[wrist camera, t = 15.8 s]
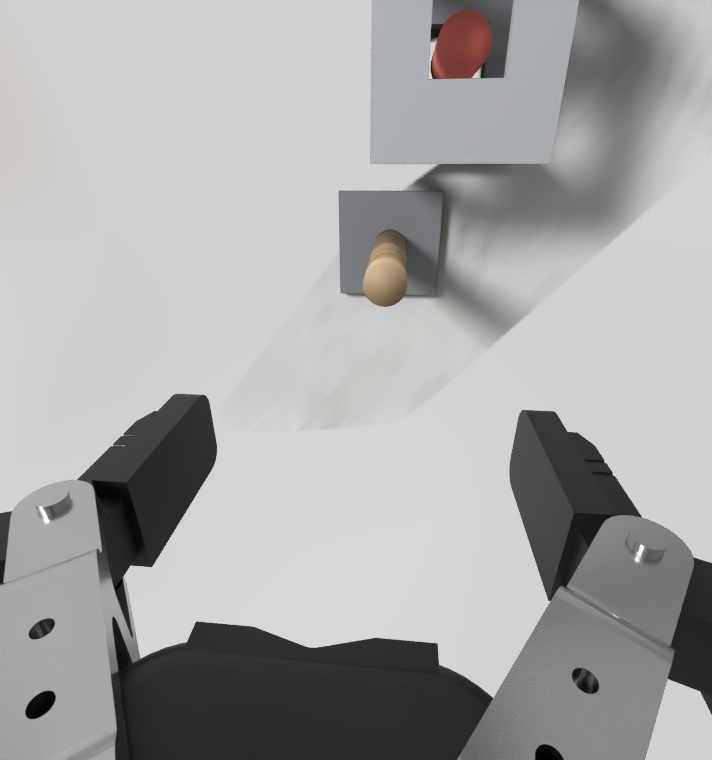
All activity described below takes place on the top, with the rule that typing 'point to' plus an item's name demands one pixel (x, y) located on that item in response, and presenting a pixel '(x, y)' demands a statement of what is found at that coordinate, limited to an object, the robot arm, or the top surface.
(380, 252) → the oak dowel
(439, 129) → the grey open cage
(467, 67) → the plunger
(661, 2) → the top surface
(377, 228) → the pad
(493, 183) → the top surface
